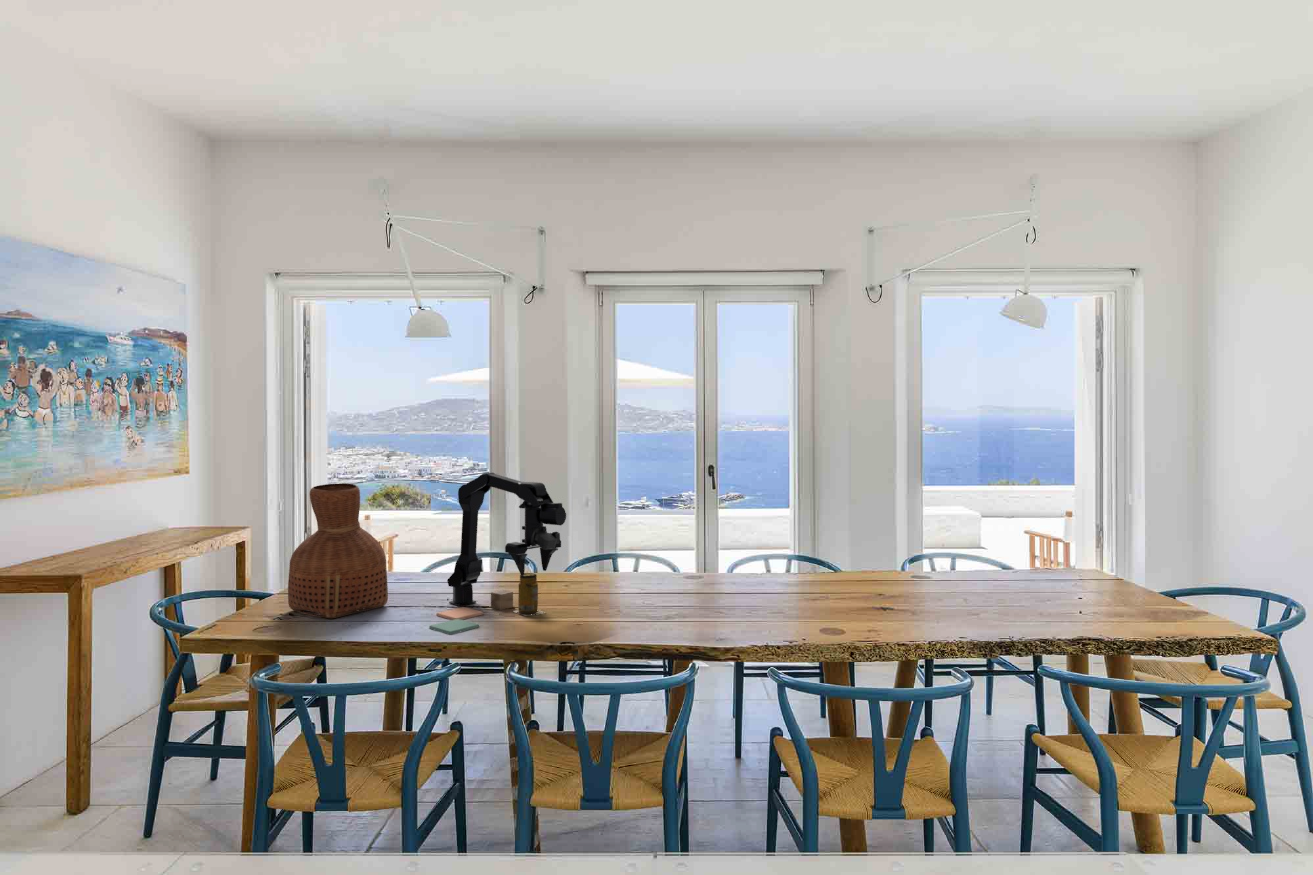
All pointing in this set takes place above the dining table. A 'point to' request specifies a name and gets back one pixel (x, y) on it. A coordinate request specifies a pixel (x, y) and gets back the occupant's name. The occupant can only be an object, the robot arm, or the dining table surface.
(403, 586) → the dining table surface
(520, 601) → the condiment
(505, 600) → the brown cube
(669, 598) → the dining table surface
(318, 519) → the basket
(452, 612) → the mat terracotta
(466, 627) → the mat green
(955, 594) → the dining table surface
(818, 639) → the dining table surface
